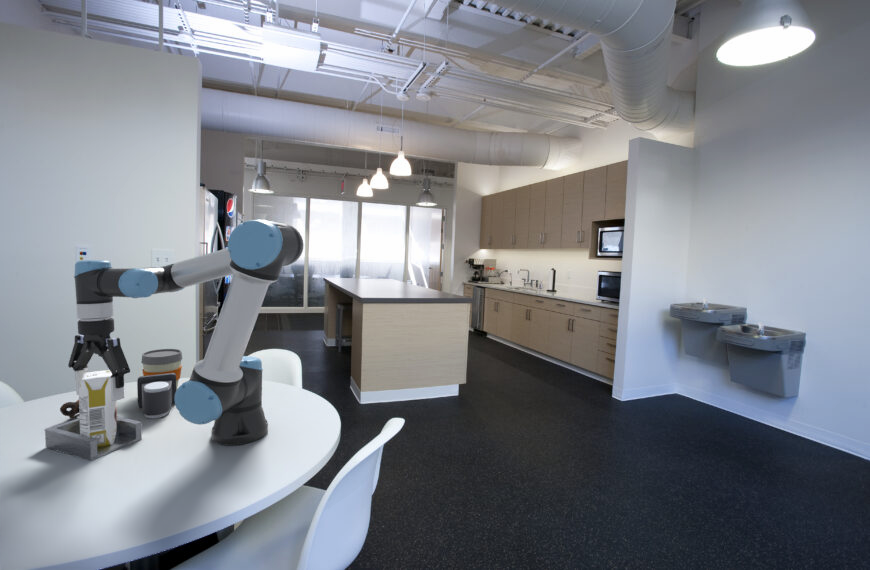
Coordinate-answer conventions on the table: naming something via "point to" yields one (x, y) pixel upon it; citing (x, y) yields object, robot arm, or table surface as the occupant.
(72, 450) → the dock
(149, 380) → the wireless charger stand
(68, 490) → the table surface
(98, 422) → the juice carton
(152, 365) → the reusable coffee cup
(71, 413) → the brown ring with handle
